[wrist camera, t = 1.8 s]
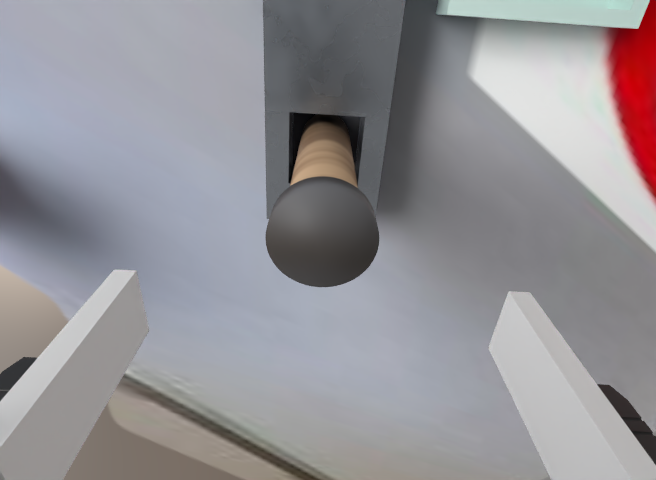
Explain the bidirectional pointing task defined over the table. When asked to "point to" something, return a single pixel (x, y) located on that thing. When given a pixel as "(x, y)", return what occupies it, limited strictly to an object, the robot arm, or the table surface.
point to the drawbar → (329, 78)
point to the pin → (323, 212)
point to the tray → (552, 11)
